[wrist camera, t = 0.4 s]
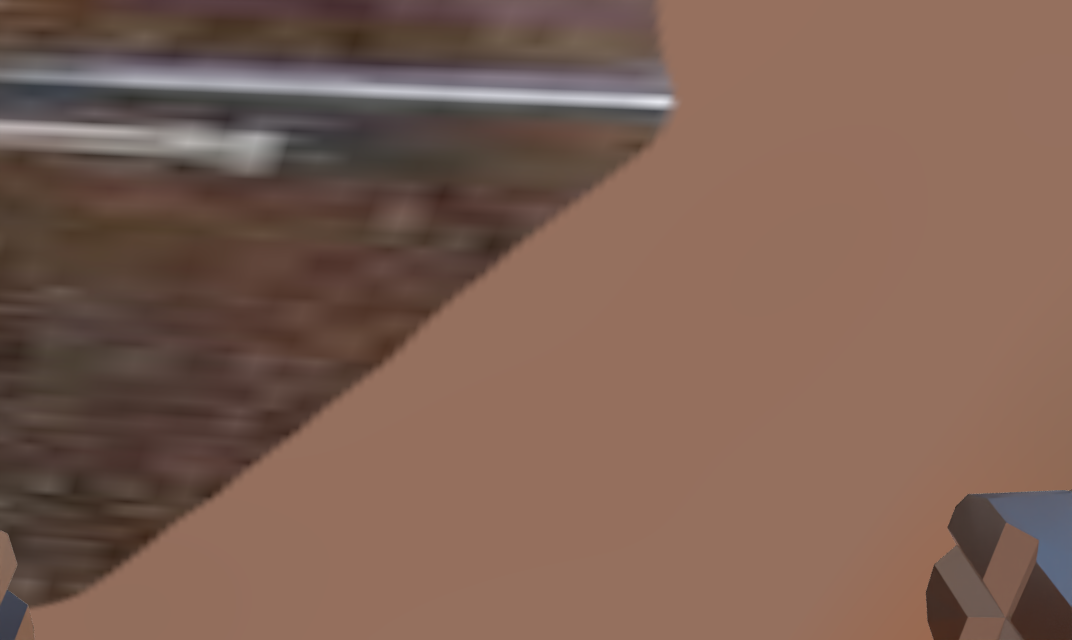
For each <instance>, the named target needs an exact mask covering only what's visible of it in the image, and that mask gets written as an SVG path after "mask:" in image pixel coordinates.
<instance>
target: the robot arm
mask: <svg viewBox="0 0 1072 640" xmlns="http://www.w3.org/2000/svg"><path fill="white" fill-rule="evenodd" d="M948 530H949V532H950V533H951V535H952V537H953V539H954V541H955V543H956V546H955V547H954V548H953V549H952V550H950V551H949V552H948V553H947V554H946V555H945V556H943V557H942V558H941V559H940V560H939V561H938V562H937V563H935V564H934V567H933V571H932V574H931V577H930V581H929V583H928V587H927V590H926V601H927V619H928V624H929V627H930V630H931V633H932V636H933V639H934V640H1072V490H1069V491H1066V490H1055V491H1033V492H1009V493H985V494H968V495H967V496H966V497H965V498H964V499H963V500H962V501H961V502H960V503H959V504H958V505H957V506H956V507H955V510H954V512H953V515H952V518H951V520H950V523H949V525H948ZM16 567H17V562H16V558H15V555H14V552H13V549H12V546H11V543H10V539H9V536H8V534H7V533H5V532H3V531H1V530H0V640H34V627H33V623H32V618H31V614H30V610H29V606H28V605H27V604H26V603H25V602H23V601H22V600H21V599H19V598H18V597H17V596H15V595H14V594H13V593H11V592H10V591H9V590H7V588H8V586H9V584H10V581H11V579H12V576H13V574H14V572H15V569H16Z"/></svg>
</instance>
